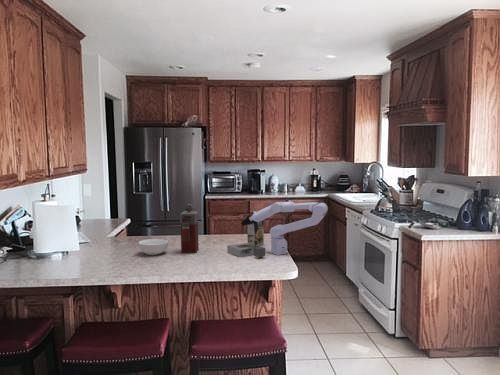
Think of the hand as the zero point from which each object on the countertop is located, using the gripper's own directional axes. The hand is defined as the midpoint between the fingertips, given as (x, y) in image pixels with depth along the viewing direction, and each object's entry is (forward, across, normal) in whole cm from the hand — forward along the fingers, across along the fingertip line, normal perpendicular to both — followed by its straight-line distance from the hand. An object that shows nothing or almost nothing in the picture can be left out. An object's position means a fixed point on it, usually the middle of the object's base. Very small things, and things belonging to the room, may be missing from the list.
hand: (244, 223), depth 252 cm
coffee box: (+6, -15, +14) cm, 21 cm away
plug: (-6, +13, +22) cm, 26 cm away
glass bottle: (+33, +15, +2) cm, 36 cm away
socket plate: (+5, +7, +16) cm, 18 cm away
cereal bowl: (+48, +27, -5) cm, 56 cm away
